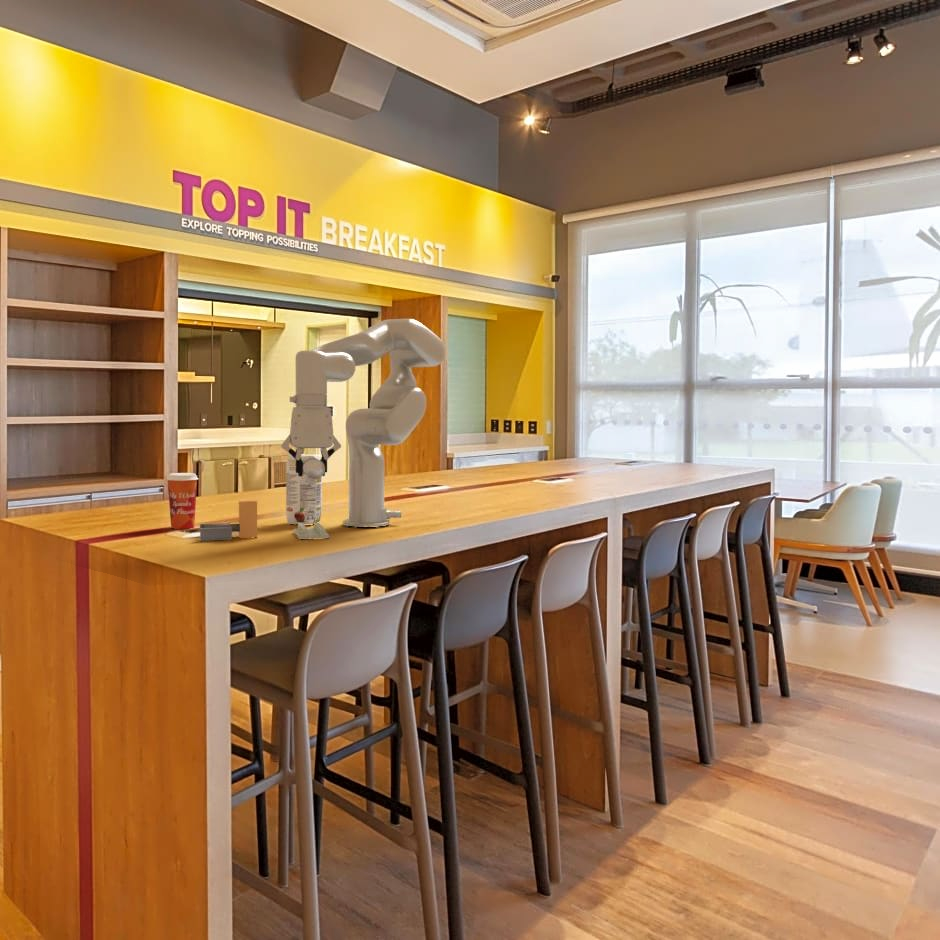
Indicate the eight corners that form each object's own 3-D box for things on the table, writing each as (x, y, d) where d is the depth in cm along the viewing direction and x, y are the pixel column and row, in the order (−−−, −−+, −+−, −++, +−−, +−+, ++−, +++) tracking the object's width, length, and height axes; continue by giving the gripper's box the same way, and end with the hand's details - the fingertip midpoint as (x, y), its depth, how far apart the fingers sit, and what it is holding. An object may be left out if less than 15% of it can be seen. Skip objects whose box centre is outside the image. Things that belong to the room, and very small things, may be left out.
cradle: (321, 531, 202) (321, 522, 202) (329, 538, 192) (329, 529, 191) (294, 532, 200) (294, 523, 199) (299, 540, 189) (299, 530, 189)
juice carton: (313, 526, 211) (313, 455, 209) (283, 524, 212) (283, 454, 211) (324, 522, 218) (324, 453, 216) (295, 521, 220) (295, 452, 218)
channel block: (230, 534, 194) (230, 522, 194) (231, 540, 187) (231, 527, 187) (200, 535, 192) (200, 523, 192) (200, 541, 185) (200, 528, 184)
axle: (325, 478, 190) (324, 458, 189) (305, 479, 188) (304, 459, 188) (319, 475, 198) (319, 456, 198) (300, 475, 197) (299, 456, 196)
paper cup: (165, 530, 199) (164, 475, 198) (168, 525, 206) (167, 472, 205) (198, 529, 201) (197, 475, 200) (199, 525, 209) (199, 472, 207)
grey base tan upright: (255, 535, 195) (255, 499, 194) (257, 538, 191) (257, 501, 190) (204, 537, 191) (204, 500, 190) (204, 540, 187) (204, 502, 186)
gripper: (277, 401, 187) (277, 477, 188) (348, 402, 192) (348, 476, 194) (274, 401, 194) (274, 474, 195) (343, 402, 199) (343, 473, 201)
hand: (311, 475), depth 195 cm, fingers closed on axle, 4 cm apart
